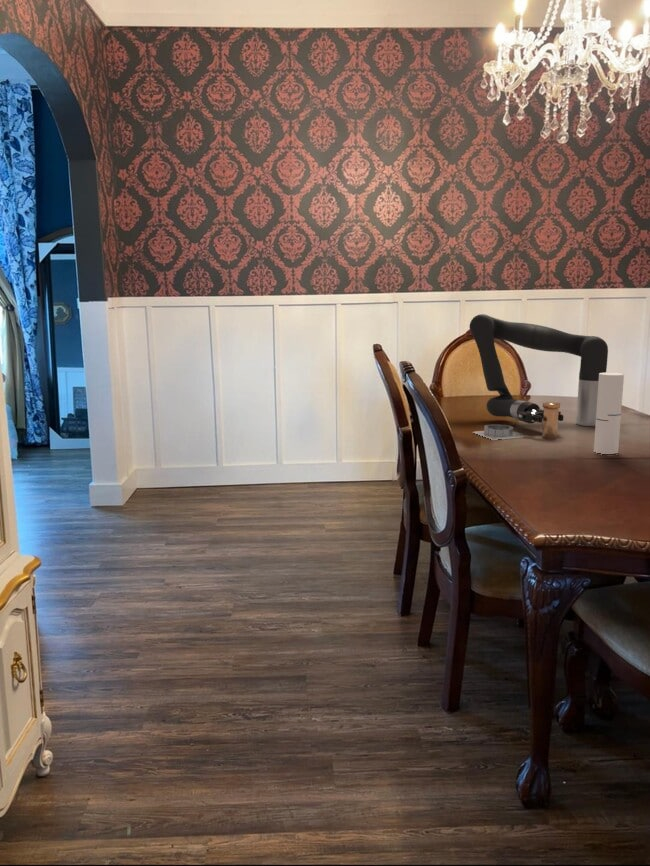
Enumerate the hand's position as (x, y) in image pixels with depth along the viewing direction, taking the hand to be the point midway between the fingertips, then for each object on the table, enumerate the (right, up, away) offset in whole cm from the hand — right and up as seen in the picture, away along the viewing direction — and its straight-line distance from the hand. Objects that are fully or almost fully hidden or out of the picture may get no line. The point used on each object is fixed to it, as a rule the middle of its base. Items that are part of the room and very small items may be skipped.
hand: (552, 418), depth 241 cm
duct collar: (-17, -6, +6) cm, 19 cm away
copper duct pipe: (0, -6, +2) cm, 7 cm away
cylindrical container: (+10, -11, -21) cm, 26 cm away
